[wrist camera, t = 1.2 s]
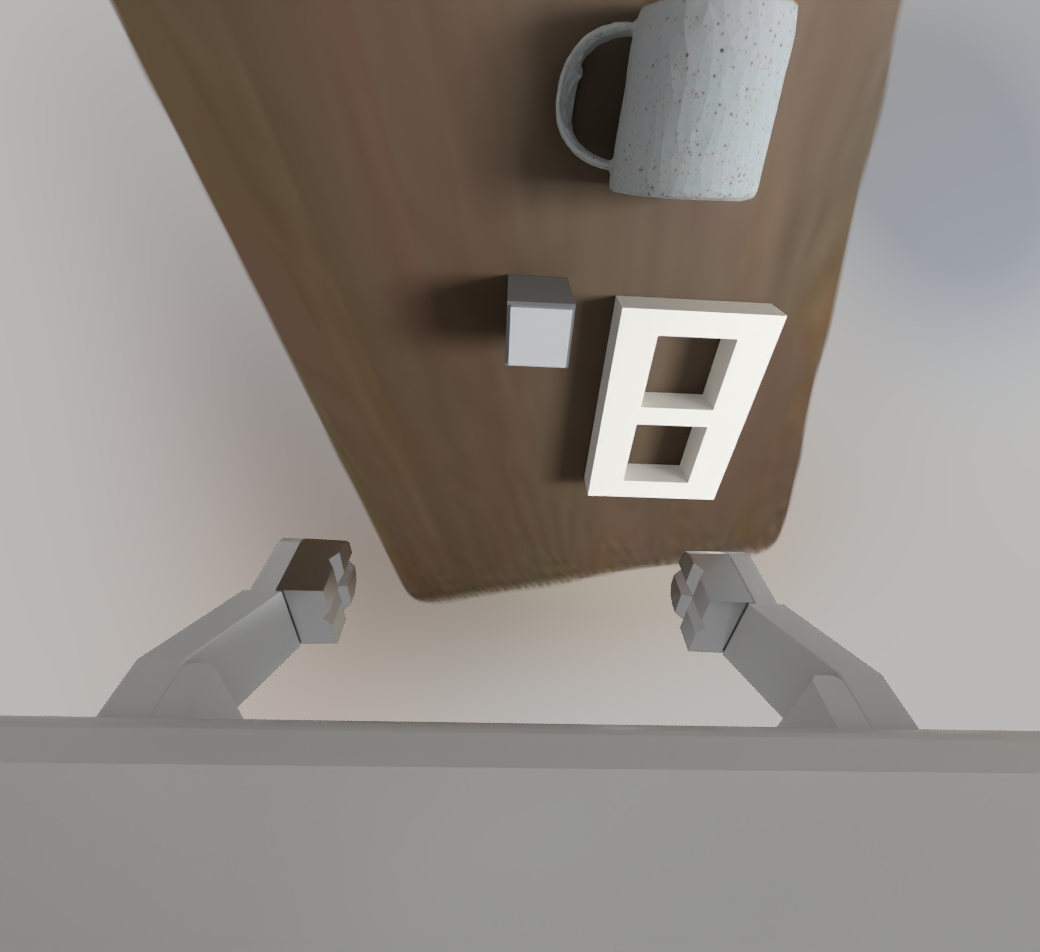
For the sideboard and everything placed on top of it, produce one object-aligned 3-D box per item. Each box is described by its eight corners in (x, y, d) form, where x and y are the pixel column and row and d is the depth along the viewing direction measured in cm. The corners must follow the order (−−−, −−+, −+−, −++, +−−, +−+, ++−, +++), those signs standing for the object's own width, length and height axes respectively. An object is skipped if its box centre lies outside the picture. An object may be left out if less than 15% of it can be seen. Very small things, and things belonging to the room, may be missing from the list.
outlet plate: (615, 295, 33) (622, 307, 31) (771, 303, 33) (787, 316, 31) (584, 477, 43) (587, 495, 41) (704, 481, 43) (713, 499, 41)
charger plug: (508, 274, 32) (507, 303, 27) (567, 277, 32) (576, 306, 27) (506, 332, 34) (504, 367, 30) (560, 334, 35) (568, 370, 30)
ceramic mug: (769, 1, 24) (852, -36, 18) (724, 189, 29) (777, 210, 23) (559, -2, 24) (571, -40, 18) (551, 186, 29) (558, 207, 23)
